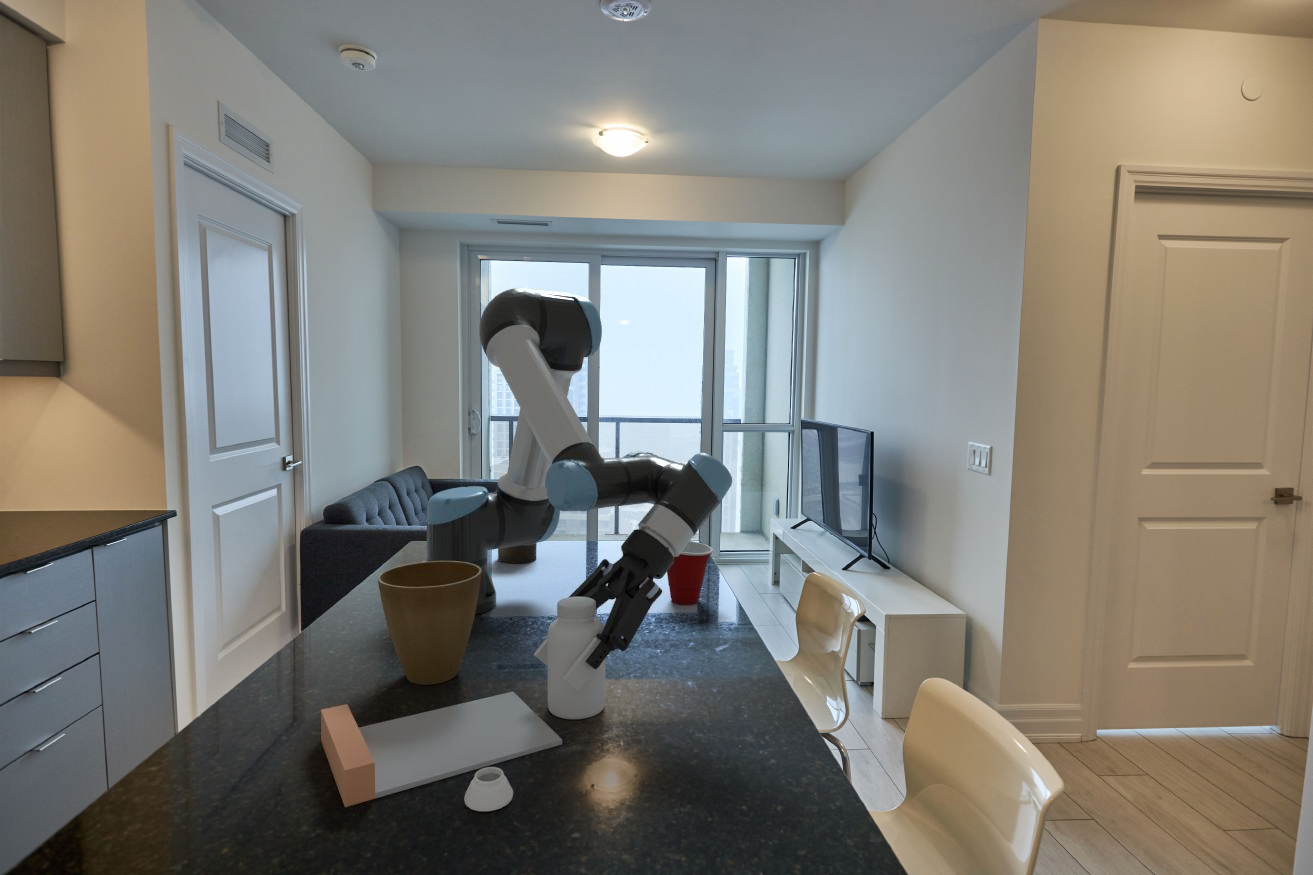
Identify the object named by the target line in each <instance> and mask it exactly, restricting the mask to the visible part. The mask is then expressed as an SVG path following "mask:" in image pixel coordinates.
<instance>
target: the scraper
mask: <svg viewBox="0 0 1313 875" xmlns="http://www.w3.org/2000/svg"><path fill="white" fill-rule="evenodd" d="M320 728H321V729H320V731H321V732H320V733H321V734H320V735H321V736H320V738H321V739H320V740H321V744H322V747H323V750H324V752H325V755H326V759H327V760H328V761H327V762H328V763H329V764H328V765H329V766H330V769H331V770H330V771H331V773H332V774H333V775H332V776H333V778H334V780H335V785H336V786H337V789H338V791H339V794H340V797H341V798H340V799H341V801H342V803H343V806H344V808H348V807H350V806H354V805H358V804H361V803H364V802H367V801H371V800H375V799H379V798H382V797H386V796H389V795H392V794H395V793H396V794H397V793H398V792H402V791H405V790H409V789H411V788H416V787H419V786H423V785H427V784H430V783H433V782H437V781H440V780H444V779H447V778H451V777H454V776H457V775H460V774H464V773H468V772H472V771H475V770H480V769H483V768H486V767H490V766H491V765H495V764H500V763H502V762H507V761H509V760H512V759H515V758H519V757H523V756H526V755H530V754H533V753H536V752H540V751H543V750H547V749H551V748H555V747H557V746H561V745H563V739H562V738H561V737H560V736H559V735H558V734H557V733H556V732H555V731H554V730H553V729H552V728H551V727H550V726H549V725H548V724H547V723H546V722H545V721H544V720H543V719H542V718H541V717H540V716H539V715H538V714H537V713H536V712H534V711H533V710H532V709H531V708H530V707H529V706H528V705H527V704H526V702H525V701H524V700H522V699H521V698H520V697H519V696H518V694H517V693H515V692H514V691H509V692H505V693H500V694H496V695H492V696H488V697H484V698H480V699H475V700H472V701H466V702H463V703H458V704H453V705H449V706H446V707H445V706H444V707H442V708H436V709H432V710H429V711H424V712H420V713H416V714H412V715H407V716H404V717H403V716H402V717H398V718H394V719H389V720H385V721H382V722H377V723H372V724H368V725H365V726H361V727H359V726H358V723H357V722H356V719H355V717H354V715H353V713H352V711H351V708H350V707H349V705H348V703H346V704H341V705H336V706H332V707H331V706H330V707H327V708H322V709H320Z"/></svg>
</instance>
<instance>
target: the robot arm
mask: <svg viewBox="0 0 1313 875" xmlns="http://www.w3.org/2000/svg"><path fill="white" fill-rule="evenodd" d="M481 314H482V315H481V317H480V321H479V328H478V330H479V340H480V344H481V348H482V349H483V352H484V354H485V356H486V358H487V359H488V361H489V363H490V364H491V365H493V366H494V367H497V368H499V370H500V372H501V373H502V376H503V378H504V380H505V381H506V383H507V385H508V387H509V389H510V391H511V393H512V395H513V396H514V399H515V401H516V403H517V405H518V406H519V411H518V418H517V422H516V423H517V424H516V427H515V432H514V437H513V442H512V448H511V452H510V458H509V462H508V467H507V472H506V473H505V474H503V475H502V476H500V477H499V478H498V481H497V484H496V489H495V491H493V492H489V491H488V489H487V488H486V487H484V486H481V485H480V486H478V485H476V486H475V485H474V486H473V485H472V486H471V485H470V486H466V487H465V486H459V487H455V488H448V489H445V490H441V491H439V492H436V493H434V494H433V495H432V496H431V497H430V498H429V499H428V500H427V508H426V509H427V511H426V516H425V522H426V562H429V561H460V562H467V563H472V564H475V565H477V566H479V567H480V568H481V570H482V571H481V580H480V588H479V595H478V601H477V606H476V611H475V615H479V614H482V613H485V612H488V611H491V610H492V609H493V608H495V607H496V605H497V590H496V589H495V585H494V583H493V579H492V577H491V574H490V570H489V567H488V565H489V564H488V553H489V552H488V551H492V550H498V549H499V548H506V547H513V546H519V545H532V544H535V543H543V542H545V541H547V540H548V539H550V538H551V537H552V536H553V534H554V533H555V532H556V530H557V528H558V525H559V522H560V516H561V512H587V511H591V510H596V509H604V508H612V507H623V506H630V505H631V506H633V505H634V506H635V505H640V504H641V505H642V504H650V505H651V504H652V505H653V506H652V507H651V508H650V509H649V511H648V512H646V514H645V515H644V516H643V518H642V519H641V520H640V522H639V523H638V524H637V526H638V528H637V529H633V530H632V532H631V533H630V534H629V535H628V537H627V538H626V539H625V540H624V542H623V543H622V544H621V546H620V549H621V552H622V556H621V557H620V558H619V559H618V560H616V561H615V562H614V563H612V562H610V561H609V560H608V559H607V558H604V559H602V560H601V562H599V564H598V565H597V567H596V569H595V570H594V571H593V572H592V573H591V574H590V575H589V576H588V577H587V578H586V579H585V580H584V581H583V582H582V583H581V584H580V585H579V586H578V587H577V588H576V589H575V590H574V591H573V592H572V593H571V594H570V595H569V596H568V597H588V598H592V599H594V600H595V602H596V610H598V608H600V607H602V606H603V605H604V604H605V603H607V602H608V601H610V600H613V601H614V603H613V605H612V607H611V609H610V613H609V615H608V617H607V619H606V622H605V625H604V629H603V631H602V633H600V634H597V635H596V637H597V638H598V639H600V640H601V641H599V640H598V639H597V638H595V637H594V639H593V640H592V641H591V643H590V644H589V645H588V646H587V648H586V649H585V650H584V652H583V653H582V654H581V655H580V657H579V658H578V659H577V661H576V662H575V663H574V664H573V666H572V667H571V668H570V670H569V671H568V672H567V673H566V675H565V676H564V677H563V679H564V680H565V681H567V682H568V683H569V684H570V685H571V686H573V687H574V688H575V689H576V690H577V691H579V690H580V689H581V687H582V686H583V685H584V683H585V682H586V681H587V680H588V678H589V677H590V676H591V674H592V673H593V672H594V670H596V669H597V668H598V667H599V666H600V665H601V663H602V662H603V660H604V659H605V660H606V659H607V657H608V656H609V654H610V653H611V652H614V651H615V650H620V651H621V652H625V651H626V650H627V649H628V648H629V646H630V644H631V642H632V640H633V638H634V637H635V636H636V633H637V632H638V630H639V628H640V626H641V625H642V623H643V621H644V619H645V618H646V616H647V614H648V612H649V611H650V609H651V607H652V606H653V604H654V603H655V601H657V599H658V598H660V596H661V595H662V594H663V589H662V588H661V587H660V586H659V585H658V584H657V583H656V582H655V581H654V579H655V580H661V579H663V578H664V576H665V575H667V571H668V570H669V568H670V567H671V566H672V564H673V563H674V557H677V556H679V555H680V553H681V552H682V551H683V549H684V548H685V547H686V545H687V544H688V543H689V541H691V540H692V539H693V537H695V535H696V534H697V532H698V531H699V530H700V528H701V527H702V526H703V525H704V524H705V522H706V521H707V520H708V518H709V517H710V516H711V514H712V513H713V512H714V511H715V510H716V509H717V507H718V506H719V505H720V504H721V503H722V501H723V499H724V498H725V496H726V494H727V493H728V491H730V488H731V487H732V484H733V477H732V474H731V472H730V471H729V470H728V468H727V467H726V466H725V465H724V464H723V463H722V462H721V461H720V460H718V458H716V457H714V456H713V455H710V454H708V453H707V452H699V453H696V454H694V455H693V456H692V457H691V458H690V459H688V460H687V463H686V464H685V463H681V462H676V461H673V460H670V459H667V458H664V457H661V456H659V455H656V454H654V453H653V452H649V451H648V452H645V451H644V452H643V451H639V450H634V451H630V452H629V453H627V454H626V455H624V456H622V457H607V458H605V457H602V455H601V454H600V452H599V451H598V449H597V447H596V446H595V444H594V443H593V441H592V439H591V438H590V436H589V434H588V432H587V430H586V429H585V427H584V425H583V424H582V421H581V420H580V418H579V416H578V413H576V411H575V409H574V407H573V406H572V404H571V401H570V400H569V398H568V395H569V390H570V385H571V381H572V377H573V376H574V375H575V374H577V373H578V372H580V371H581V370H582V368H583V365H584V359H585V358H589V357H591V356H593V355H594V354H595V353H596V352H598V350H599V348H600V345H601V343H602V342H601V341H602V337H603V336H602V335H603V334H602V333H603V329H602V328H603V326H602V320H601V317H600V315H599V311H598V309H597V307H596V305H595V304H594V303H593V302H592V301H591V300H590V299H589V298H587V297H585V296H581V295H577V294H572V293H569V292H558V291H546V290H537V289H529V288H526V287H525V288H524V287H517V288H510V289H506V290H504V291H502V292H500V293H499V294H497V295H495V296H494V297H493V298H492V299H491V300H490V301H489V302H488V304H487V305H486V307H485V308H484V310H483V312H482V313H481ZM533 655H534V656H535V657H536V658H537V659H538V660H539V661H540V662H542V663H543V664H544V665H546V666H547V667H548V643H547V637H546V638H545V639H544V640H543V642H542V643H541V645H540V646H538V648H537V649H536V650H535V652H534V653H533Z"/></svg>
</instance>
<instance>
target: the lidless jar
mask: <svg viewBox="0 0 1313 875" xmlns="http://www.w3.org/2000/svg"><path fill="white" fill-rule="evenodd" d="M473 776H474V777H473V779H472V780H471V781H470V783H469V786H468V788H467V790H466V791H465V794H464V797H463V798H464V799H463V801H464V804H465V805H466V806H465V807H468V808H469V809H470V810H472V811H476V812H492V811H496V810H499V809H502V808H503V807H505V806H507V805H508V804H509V803H510V802H511V801H512V800H513V796H514V790H513V788H512V786H511V784H510V782H509V780H508V778H507V776H506V775H505V774H504V770H502V769H501V768H499V767H497V766H486V767H482V768H480V769H478V770H477V771H476V772H475V774H474V775H473Z"/></svg>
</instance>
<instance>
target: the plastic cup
mask: <svg viewBox="0 0 1313 875" xmlns="http://www.w3.org/2000/svg"><path fill="white" fill-rule="evenodd" d="M713 552H714V549H713V547H711V546H709V545H708V544H705V543H702V542H697V541H691V540H690V541H689V543H688V544H687V545H686V547H685V548H684V549H683V551H682V552H681V553H680V555H679V556H677V557H674V563H673V564H672V566H671V567H670V568H669V570H668V571H667V572H666V575H667V582H668V588H669V596H670V599H671V602H672V603H674V604H676V605H683V606H690V605H695V604H697V603H698V602H699V600H700V596H701V590H702V587H703V582H704V578H705V573H706V570H707V569H706V568H707V564H708V561H709V559H710V556H711V554H712V553H713Z"/></svg>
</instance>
